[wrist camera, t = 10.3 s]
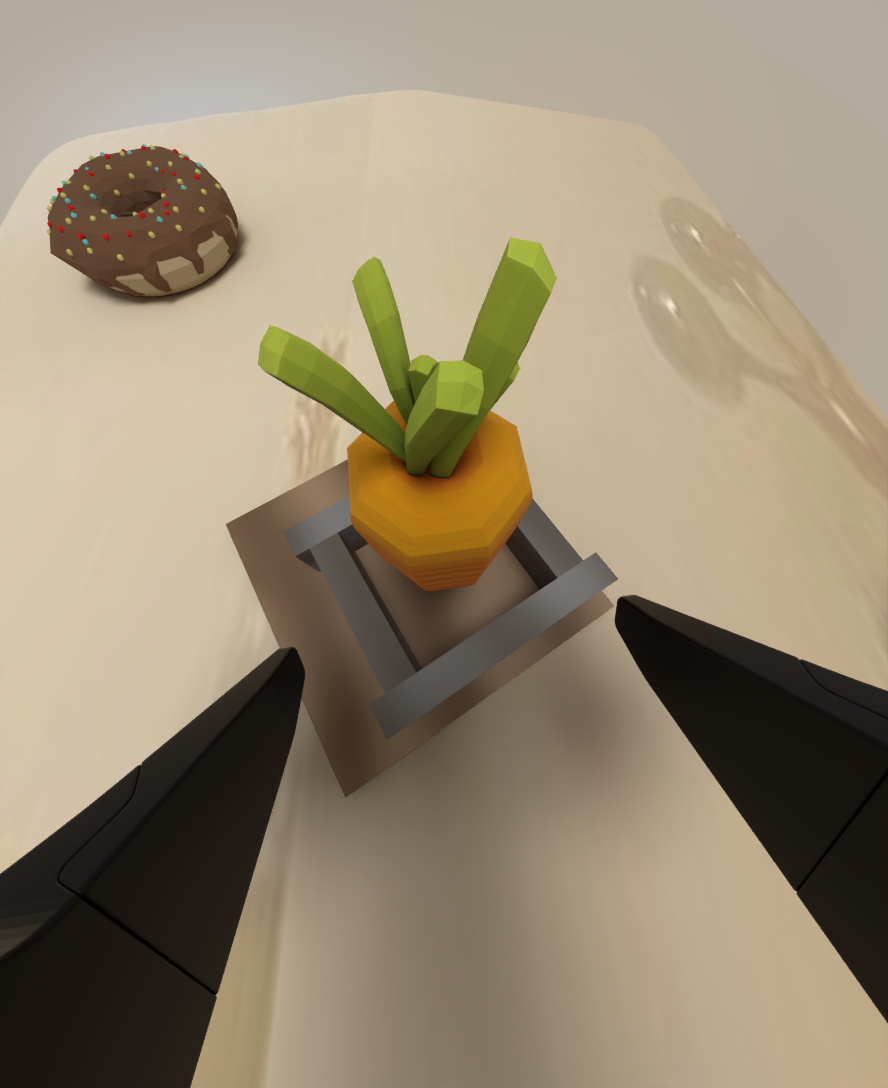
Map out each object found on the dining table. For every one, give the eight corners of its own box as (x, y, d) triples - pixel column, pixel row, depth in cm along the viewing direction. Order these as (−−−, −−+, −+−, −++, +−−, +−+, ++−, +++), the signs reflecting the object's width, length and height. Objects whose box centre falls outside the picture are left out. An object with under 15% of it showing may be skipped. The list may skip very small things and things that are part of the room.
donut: (212, 194, 32) (172, 116, 28) (274, 264, 29) (239, 187, 24) (69, 252, 30) (-2, 177, 25) (116, 337, 26) (42, 267, 21)
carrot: (389, 601, 18) (117, 398, 3) (415, 519, 19) (303, 129, 5) (479, 625, 17) (616, 509, 3) (498, 538, 19) (654, 171, 4)
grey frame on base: (350, 790, 15) (319, 831, 12) (234, 529, 20) (186, 501, 16) (607, 608, 18) (646, 596, 14) (451, 413, 23) (450, 367, 19)
